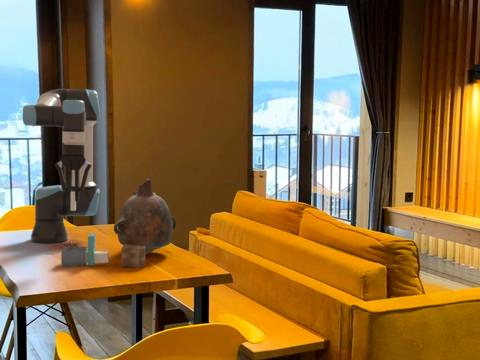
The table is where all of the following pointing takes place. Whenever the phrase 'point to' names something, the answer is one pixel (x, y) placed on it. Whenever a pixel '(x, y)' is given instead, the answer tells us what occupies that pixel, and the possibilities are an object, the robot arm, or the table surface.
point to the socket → (133, 255)
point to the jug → (145, 220)
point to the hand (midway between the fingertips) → (73, 210)
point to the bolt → (95, 252)
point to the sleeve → (73, 257)
